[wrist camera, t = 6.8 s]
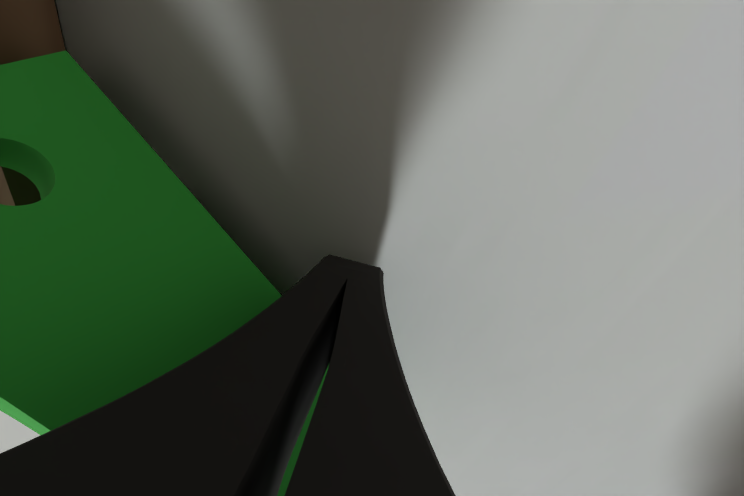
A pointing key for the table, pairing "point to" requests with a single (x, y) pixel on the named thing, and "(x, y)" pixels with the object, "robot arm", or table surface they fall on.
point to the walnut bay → (19, 42)
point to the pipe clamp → (103, 256)
